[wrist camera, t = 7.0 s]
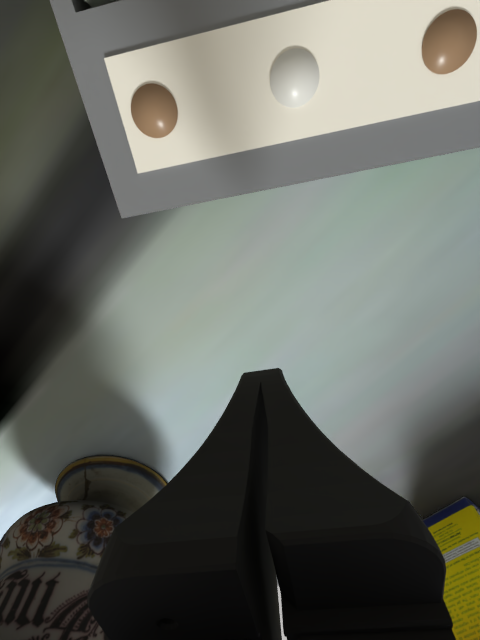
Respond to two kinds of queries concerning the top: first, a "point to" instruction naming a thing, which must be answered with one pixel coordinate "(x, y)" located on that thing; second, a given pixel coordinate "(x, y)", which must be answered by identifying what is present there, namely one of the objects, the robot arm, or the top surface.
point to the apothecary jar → (67, 549)
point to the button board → (269, 90)
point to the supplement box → (460, 564)
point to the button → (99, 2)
